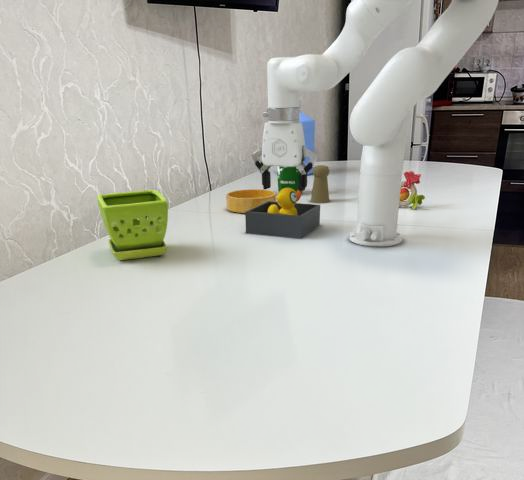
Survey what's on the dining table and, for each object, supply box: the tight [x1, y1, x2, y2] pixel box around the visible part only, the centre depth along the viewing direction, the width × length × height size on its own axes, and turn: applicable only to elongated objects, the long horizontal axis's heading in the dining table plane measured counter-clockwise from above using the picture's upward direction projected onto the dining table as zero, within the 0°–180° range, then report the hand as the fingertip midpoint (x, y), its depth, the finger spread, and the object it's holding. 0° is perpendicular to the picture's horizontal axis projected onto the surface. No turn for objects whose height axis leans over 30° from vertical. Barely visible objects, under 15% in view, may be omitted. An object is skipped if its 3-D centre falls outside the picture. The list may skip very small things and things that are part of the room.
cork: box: [310, 164, 330, 204], centre depth 167 cm, size 6×6×11 cm
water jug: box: [299, 99, 316, 176], centre depth 217 cm, size 16×16×28 cm
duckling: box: [267, 188, 302, 215], centre depth 136 cm, size 11×5×10 cm, turn 133°
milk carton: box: [276, 166, 303, 193], centre depth 178 cm, size 9×9×20 cm
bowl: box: [225, 188, 277, 214], centre depth 161 cm, size 15×15×4 cm
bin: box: [244, 201, 321, 239], centre depth 137 cm, size 14×15×6 cm
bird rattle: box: [399, 170, 426, 210], centre depth 156 cm, size 6×11×9 cm
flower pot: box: [96, 189, 169, 261], centre depth 118 cm, size 14×14×13 cm
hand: (284, 189), depth 133 cm, fingers open, 9 cm apart
